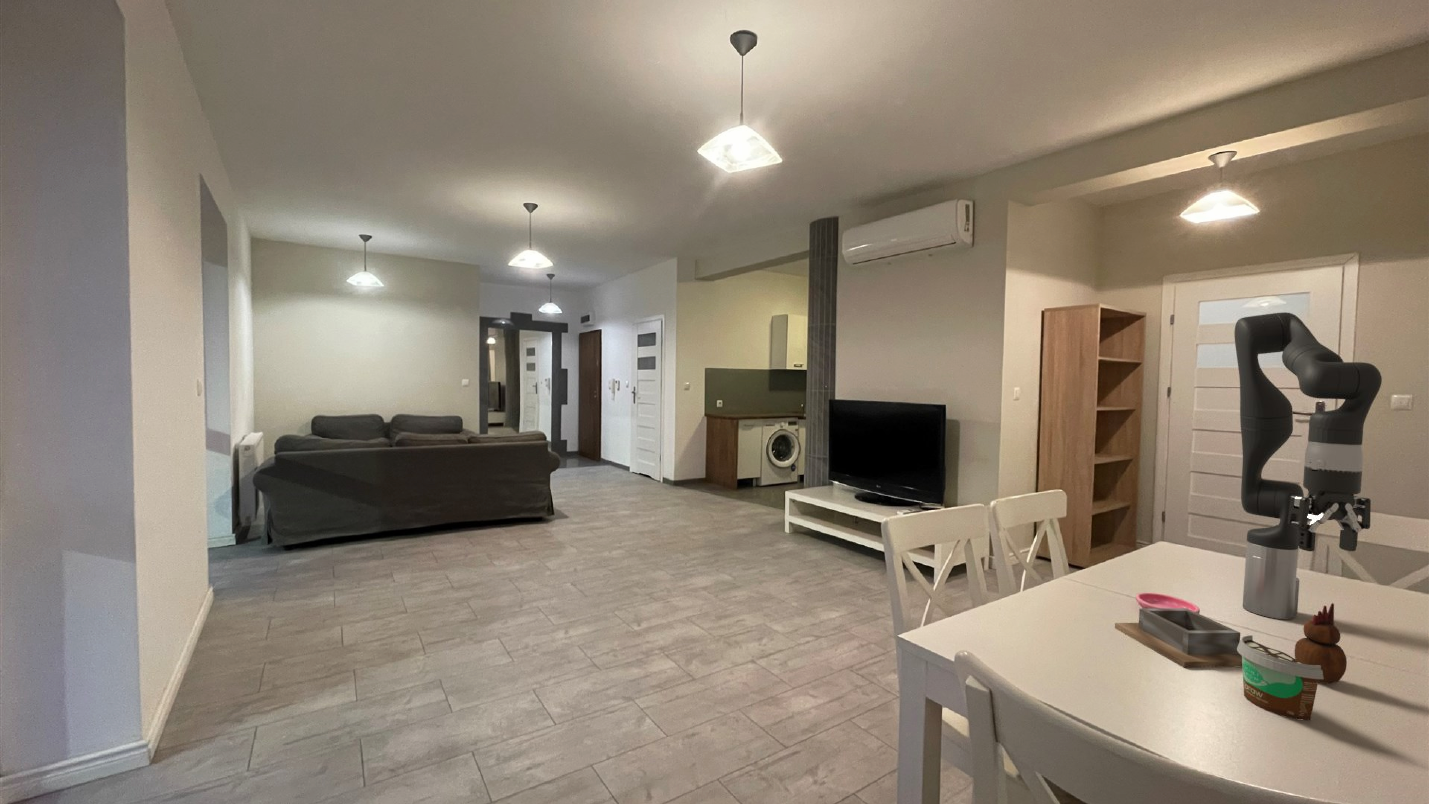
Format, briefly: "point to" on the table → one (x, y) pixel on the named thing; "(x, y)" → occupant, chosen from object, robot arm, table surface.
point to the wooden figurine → (1322, 646)
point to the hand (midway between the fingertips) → (1326, 550)
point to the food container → (1278, 680)
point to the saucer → (1163, 602)
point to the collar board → (1185, 637)
